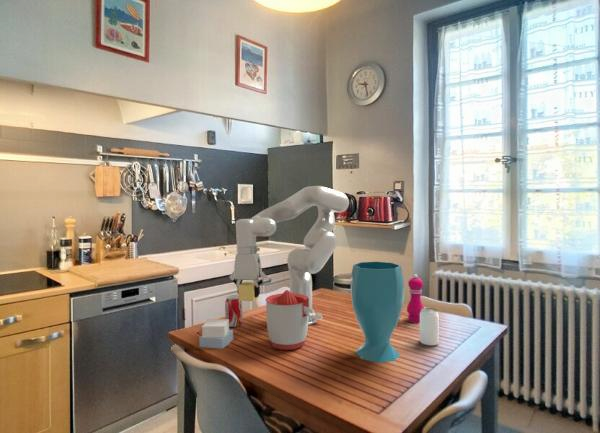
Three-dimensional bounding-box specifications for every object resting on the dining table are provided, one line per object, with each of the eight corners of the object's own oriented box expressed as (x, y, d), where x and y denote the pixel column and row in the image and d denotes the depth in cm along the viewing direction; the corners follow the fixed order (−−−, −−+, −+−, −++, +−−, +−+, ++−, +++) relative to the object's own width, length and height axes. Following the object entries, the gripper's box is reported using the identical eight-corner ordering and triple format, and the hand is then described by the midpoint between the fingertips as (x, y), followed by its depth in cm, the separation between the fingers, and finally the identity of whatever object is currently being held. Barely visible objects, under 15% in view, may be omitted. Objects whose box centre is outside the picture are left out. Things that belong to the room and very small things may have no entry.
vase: (394, 368, 112) (394, 271, 111) (343, 356, 121) (342, 267, 120) (409, 349, 127) (409, 263, 126) (363, 339, 136) (362, 259, 135)
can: (429, 347, 128) (429, 313, 128) (415, 341, 134) (415, 309, 133) (442, 343, 131) (442, 310, 131) (428, 338, 137) (428, 306, 136)
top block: (229, 329, 139) (228, 319, 139) (224, 337, 131) (224, 326, 131) (208, 329, 139) (207, 319, 139) (202, 337, 131) (202, 326, 131)
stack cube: (258, 296, 146) (258, 282, 145) (253, 301, 140) (252, 285, 139) (244, 296, 147) (244, 281, 147) (238, 300, 141) (238, 285, 141)
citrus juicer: (305, 356, 122) (304, 297, 121) (258, 350, 128) (257, 293, 127) (319, 339, 137) (318, 286, 136) (276, 334, 143) (276, 284, 142)
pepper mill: (406, 321, 155) (405, 275, 155) (407, 316, 162) (407, 272, 161) (423, 323, 153) (423, 276, 152) (424, 318, 159) (424, 273, 159)
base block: (233, 340, 138) (232, 330, 138) (222, 349, 130) (222, 338, 129) (211, 338, 141) (211, 328, 140) (199, 347, 132) (199, 336, 132)
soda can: (238, 328, 151) (238, 299, 150) (222, 327, 152) (222, 298, 152) (244, 322, 158) (244, 295, 157) (229, 321, 159) (228, 294, 158)
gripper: (270, 249, 144) (272, 294, 145) (230, 249, 148) (232, 293, 149) (264, 252, 137) (266, 299, 138) (222, 252, 141) (224, 298, 142)
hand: (248, 295), depth 143 cm, fingers closed on stack cube, 6 cm apart
